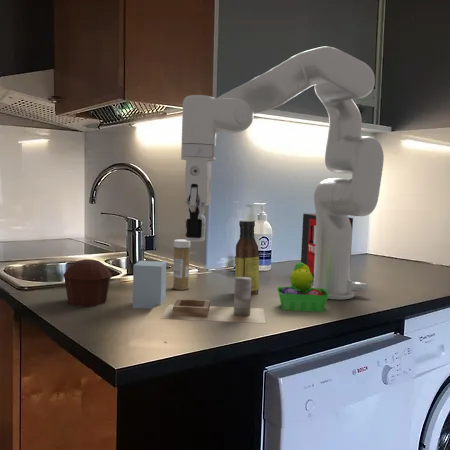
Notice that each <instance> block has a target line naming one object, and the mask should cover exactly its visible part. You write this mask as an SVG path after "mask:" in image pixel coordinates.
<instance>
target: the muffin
mask: <svg viewBox="0 0 450 450" xmlns="http://www.w3.org/2000/svg"><path fill="white" fill-rule="evenodd" d="M112 277H113V274H112V272H111V271H110V270H109V268H108V267H107V266H106V265H105V264H104V263H103V262H100V261H99V260H96V259H93V258H92V259H89V258H88V259H81V260H77V261H75V262H74V263H72V264H71V265H70V266H69V267H68V268H67V269H66V271H65V272H64V273H63V278H64V283H65V284H64V285H65V290H66V297H67V303H68V304H70V305H72V306H78V307H95V306H96V307H97V306H100V305H102V304H103V305H104V304H106V302H107V300H108V295H109V286H110V282H111V278H112Z"/></svg>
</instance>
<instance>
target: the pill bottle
mask: <svg viewBox="0 0 450 450" xmlns="http://www.w3.org/2000/svg"><path fill="white" fill-rule="evenodd" d="M203 213H204V214H205V206H202V207H201V220H202V235H201V238H188V237H187V219H188V214H187V215H186V216H185V236H184V237H185V238H184V239H185V240H187V241H190V242H192V243H194V242H195V243H197V242H198V243H201V242H205V241H206V224H207V223H206V216H205V215H204V216H203Z"/></svg>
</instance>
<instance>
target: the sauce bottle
mask: <svg viewBox="0 0 450 450" xmlns="http://www.w3.org/2000/svg"><path fill="white" fill-rule="evenodd" d="M238 224H239V225H238V226H239V239H238V240H237V242H236V244H235V256H234V258H235V262H234V263H235V265H234V267H235V271H234V273H235V274H234V275H235V276H234V279H235V278H236V277H248V278H251V296H253V295H255V296H256V295H257V296H258V295H259V289H260V254H259V246H258V244H257V241H256V238H255V225H256V221H255V220H253V219H252V220H251V219H242V220H239V223H238Z"/></svg>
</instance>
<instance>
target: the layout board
mask: <svg viewBox="0 0 450 450" xmlns="http://www.w3.org/2000/svg"><path fill="white" fill-rule="evenodd" d="M233 296H234V297H233V306H215V305H211V300H210V299H197V298H177V299H176V300H175V302H174V304H171V303H170V304H168V305H167V307H166V308H165V310H164V311H163V313H162V314H161V316H160V318H159V319H163V320H184V321H203V322H204V321H206V322H224V323H225V322H226V323H227V322H229V323H251V324H266V323H267V322H266V316H265V310H264V308H262V307H261V308H259V307H251V300H252V299H251V298H252V295H251V278H248V277H236V278H235V277H234V295H233Z"/></svg>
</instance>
